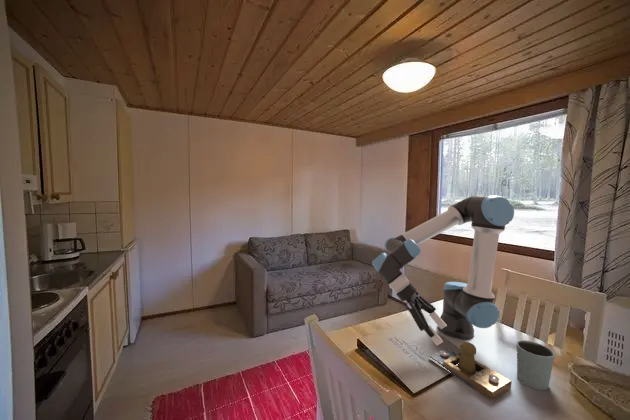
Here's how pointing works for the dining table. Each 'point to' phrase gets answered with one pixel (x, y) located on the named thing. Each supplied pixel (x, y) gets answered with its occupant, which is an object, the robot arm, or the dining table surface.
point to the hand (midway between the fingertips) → (442, 335)
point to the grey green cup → (534, 364)
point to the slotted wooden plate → (475, 375)
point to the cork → (467, 358)
